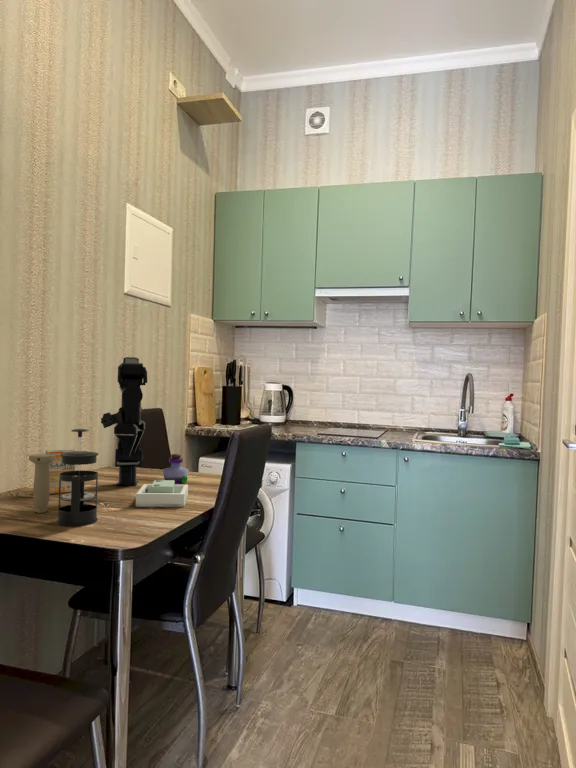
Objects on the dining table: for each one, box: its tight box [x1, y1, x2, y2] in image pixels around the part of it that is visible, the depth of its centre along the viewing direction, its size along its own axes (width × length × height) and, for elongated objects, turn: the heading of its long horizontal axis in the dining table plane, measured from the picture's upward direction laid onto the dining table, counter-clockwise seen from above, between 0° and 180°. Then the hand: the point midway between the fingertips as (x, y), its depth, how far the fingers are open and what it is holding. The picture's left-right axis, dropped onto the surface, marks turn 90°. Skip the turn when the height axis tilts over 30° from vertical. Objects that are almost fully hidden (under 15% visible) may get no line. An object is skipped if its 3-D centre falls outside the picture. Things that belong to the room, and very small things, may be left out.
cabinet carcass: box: [135, 483, 189, 508], centre depth 162 cm, size 14×13×4 cm
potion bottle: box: [162, 453, 190, 485], centre depth 178 cm, size 9×9×12 cm
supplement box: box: [44, 449, 76, 495], centre depth 171 cm, size 8×5×13 cm, turn 123°
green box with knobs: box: [151, 479, 175, 493], centre depth 162 cm, size 10×6×5 cm, turn 9°
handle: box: [28, 453, 56, 514], centre depth 145 cm, size 5×6×15 cm
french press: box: [56, 428, 99, 527], centre depth 137 cm, size 12×9×23 cm
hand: (129, 455), depth 167 cm, fingers open, 9 cm apart
